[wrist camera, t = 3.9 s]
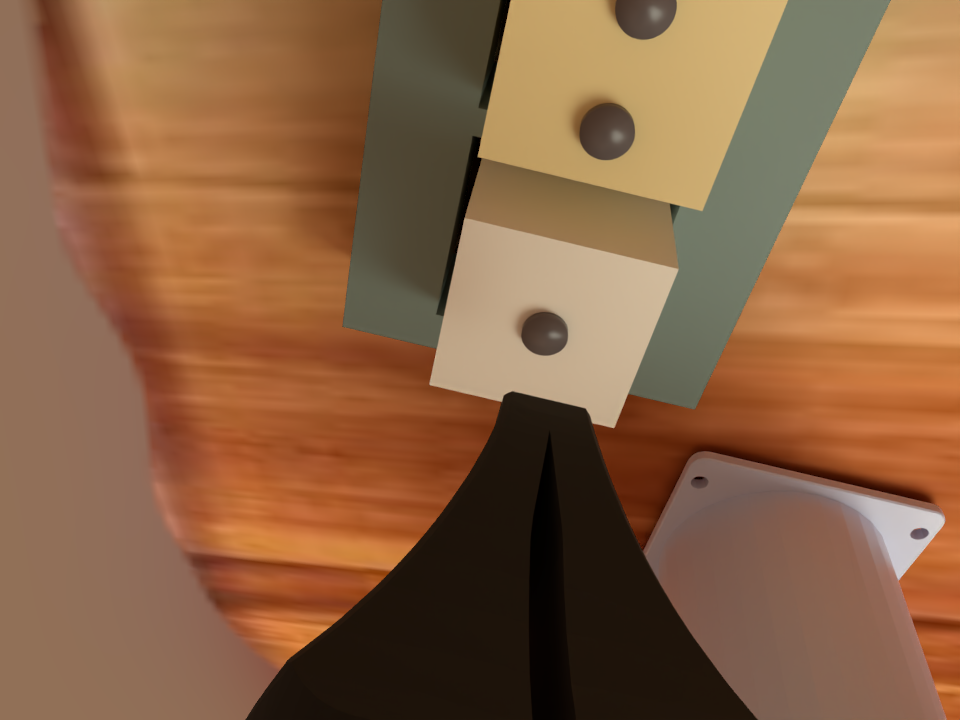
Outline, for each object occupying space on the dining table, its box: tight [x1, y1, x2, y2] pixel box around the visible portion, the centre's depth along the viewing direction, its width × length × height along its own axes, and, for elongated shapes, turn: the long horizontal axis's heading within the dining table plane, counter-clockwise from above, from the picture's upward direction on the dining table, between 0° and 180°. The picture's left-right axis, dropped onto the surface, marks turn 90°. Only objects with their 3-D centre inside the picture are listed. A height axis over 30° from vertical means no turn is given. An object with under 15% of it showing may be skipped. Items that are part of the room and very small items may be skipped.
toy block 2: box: [429, 158, 679, 428], centre depth 18 cm, size 4×4×5 cm
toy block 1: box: [478, 0, 788, 211], centre depth 15 cm, size 4×4×5 cm
